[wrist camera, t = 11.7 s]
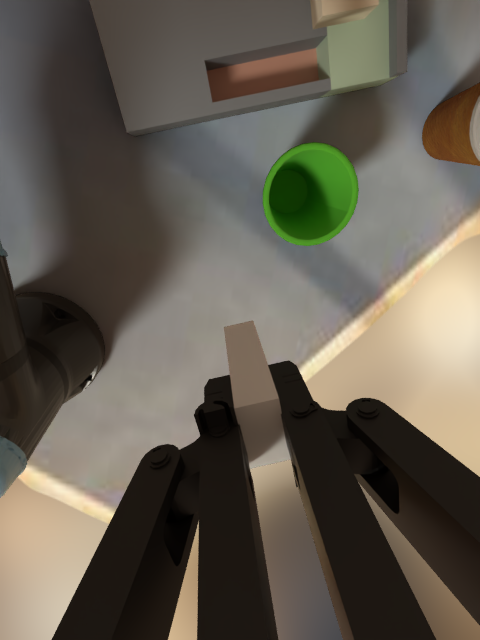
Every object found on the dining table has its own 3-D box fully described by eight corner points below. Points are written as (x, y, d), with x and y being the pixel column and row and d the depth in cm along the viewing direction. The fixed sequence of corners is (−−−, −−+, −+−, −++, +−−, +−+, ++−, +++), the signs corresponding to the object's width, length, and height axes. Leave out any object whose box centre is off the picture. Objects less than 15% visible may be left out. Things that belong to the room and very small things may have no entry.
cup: (265, 138, 39) (286, 124, 29) (335, 167, 41) (376, 165, 31) (238, 215, 42) (248, 227, 32) (304, 239, 44) (333, 258, 34)
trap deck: (134, 136, 38) (123, 130, 33) (84, -42, 32) (62, -82, 27) (380, 85, 38) (407, 71, 33) (376, -101, 32) (407, -152, 27)
